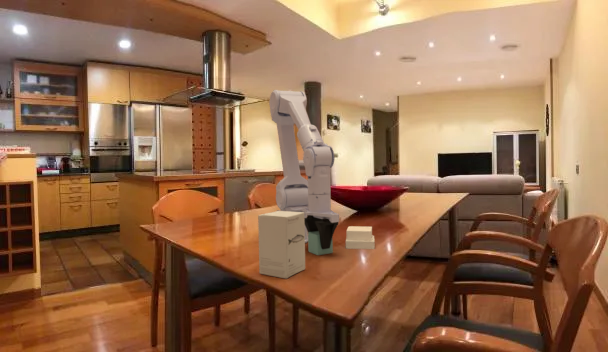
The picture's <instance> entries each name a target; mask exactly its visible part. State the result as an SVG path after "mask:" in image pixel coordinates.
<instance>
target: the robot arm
mask: <svg viewBox="0 0 608 352" xmlns="http://www.w3.org/2000/svg"><path fill="white" fill-rule="evenodd" d="M307 100H308V99H307V95H306V93H305V92H304V91H303V90H300V91H297V90H296V91H294V90H293V91H292V90H279V89H274V90H273V91H272V92H270V96H269V101H268V102H269V111H270V117H271V121H272V122H274V123H275V124H276V127H277V128H276V129H277V134H278V135H277V136H278V142H279V149H280V150H279V151H280V158H281V165H282V173H283V178H282V179H280V180H279V182H278V183H277V184H276V186H275V190H276V191H275V193H276V194H275V202H276V206H277V208H279V209H278V210H276V211H291V212H304V222H305V244H307V243H308V232H314V231H319V235H320V243H321V248H322V249H329V248H330V245H331V241H332V239H333V238H334V237H333V236H334V234H335V231H336V228H337V227H338V225H339V222H340V213H337V212H335V211H333V210H332V208H331V207H332V203H331V201H332V200H331V198H332V196H331V190H332V189H331V168H332V167H333V166H334V165H335V164H334V163H335V152H334V149H333V147H332V145H328V143H325V142H324V139H323V138H322V136H321V133H320V131H319V130H318V127H317V126H316V125H314V124H312V123H311V120H310V118H309V115H308V112H307V103H308V101H307ZM294 126H296V128H297V130H298V131H297V133H296V135H295V127H294ZM296 137H297V140H298V142H299V143H300V147H301V149H302V152H303V157H302V161H303V166H304V168H305V169H304V170H305V176H306V177H307V179H306V178H305V177H303V176H302V175H301V170H300V169H301V168H300V163H299V155H298V149H297V141H296Z"/></svg>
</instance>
